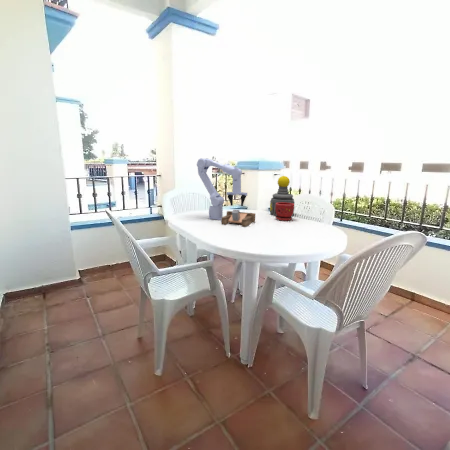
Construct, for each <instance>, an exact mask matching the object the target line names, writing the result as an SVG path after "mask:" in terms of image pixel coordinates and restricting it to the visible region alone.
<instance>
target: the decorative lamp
mask: <svg viewBox="0 0 450 450" xmlns="http://www.w3.org/2000/svg"><path fill="white" fill-rule="evenodd" d="M290 183H291V182H290V179H289V177H288V176H286V175H281V176H279V178H278V179H277V185H278V189H277V192H276V193H273V194H272V197H271V198H270V199H271V200H270V201H269V213H270V215H271V216H274V217H276V216H277V214H276V210H275V207H276V203H279V202H285V203H293V204H294V205H295V199H294V195H293V194H291V193H289V189H288V187H289V185H290ZM283 210H284V209H283ZM286 210H287V208H286ZM289 211H290V210H289ZM294 212H295V210H294V211H293V214H292V216H293V215H294Z"/></svg>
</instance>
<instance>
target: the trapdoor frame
mask: <svg viewBox="0 0 450 450" xmlns="http://www.w3.org/2000/svg"><path fill="white" fill-rule="evenodd" d="M232 212H233V210H232V211H231V210H227V211H226V215H224V216H222V219H221V225H225V226H226V225H228V224H230V223H231V222H228V220H229V219H230V217H231V215H232ZM240 213H244V214H247V216H246V217H245V218H244V219H242V223H241V227H243V228H244V227H246V228H247V227H248V226H249V225H251V224H252V223H253V224H255V223H256V213H255V212H254V213H253V212H245V211H242V212H241V211H240Z"/></svg>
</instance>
